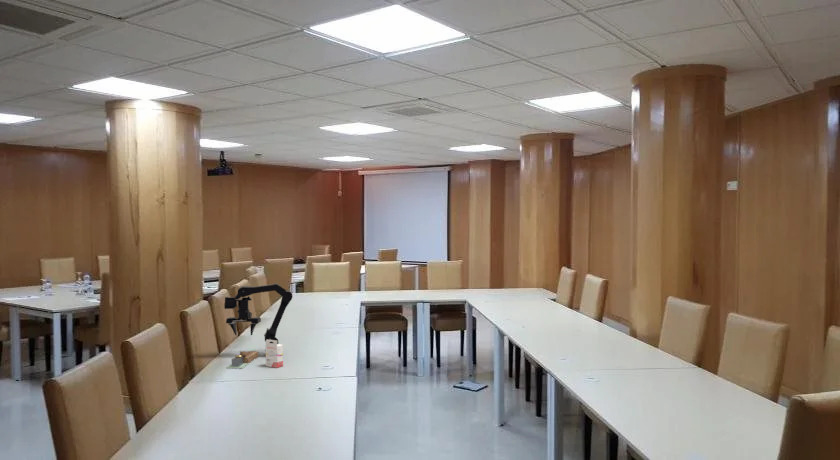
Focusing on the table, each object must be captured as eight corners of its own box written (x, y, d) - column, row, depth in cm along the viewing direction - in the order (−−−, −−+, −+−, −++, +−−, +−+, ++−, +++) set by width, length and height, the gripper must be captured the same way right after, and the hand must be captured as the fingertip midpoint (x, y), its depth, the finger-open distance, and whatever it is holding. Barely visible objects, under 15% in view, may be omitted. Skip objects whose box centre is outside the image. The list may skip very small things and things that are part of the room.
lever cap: (243, 363, 313) (243, 354, 313) (238, 366, 307) (238, 357, 307) (236, 363, 313) (236, 354, 313) (231, 366, 307) (231, 357, 307)
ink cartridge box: (283, 365, 310) (283, 339, 310) (277, 368, 306) (277, 340, 306) (271, 364, 314) (271, 337, 314) (265, 366, 310) (265, 339, 310)
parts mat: (248, 364, 314) (248, 363, 314) (242, 368, 305) (242, 367, 305) (232, 364, 315) (232, 363, 315) (226, 368, 306) (225, 367, 306)
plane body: (258, 356, 332) (258, 346, 331) (247, 363, 316) (247, 352, 316) (246, 356, 332) (246, 346, 332) (235, 363, 316) (235, 352, 316)
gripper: (263, 306, 338) (264, 332, 338) (232, 306, 339) (233, 332, 339) (257, 309, 327) (257, 336, 327) (225, 309, 328) (225, 336, 328)
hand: (243, 335), depth 331 cm, fingers open, 9 cm apart
